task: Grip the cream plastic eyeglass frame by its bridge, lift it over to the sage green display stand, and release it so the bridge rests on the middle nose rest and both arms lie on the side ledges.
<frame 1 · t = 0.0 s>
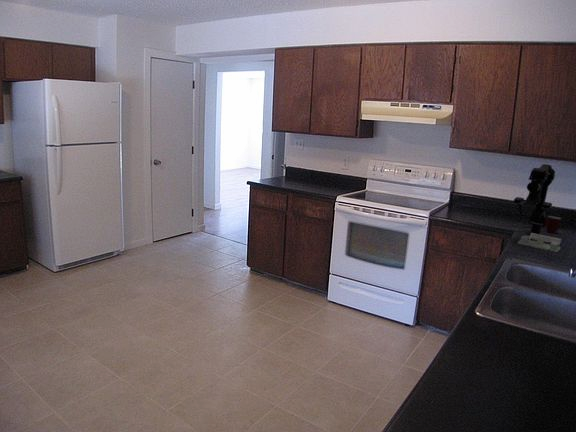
hand: (529, 217, 264), 15 cm above the countertop, tool pointing down, fingers open, 9 cm apart
mug: (550, 232, 300), on the countertop
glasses: (544, 241, 275), on the countertop
stand: (539, 245, 263), on the countertop
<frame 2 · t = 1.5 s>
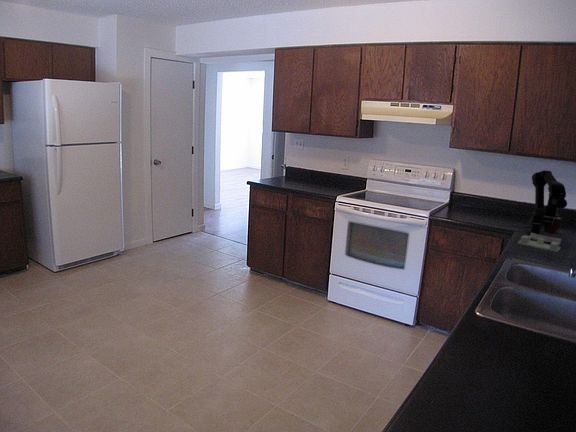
hand: (546, 230, 274), 6 cm above the countertop, tool pointing down, fingers open, 9 cm apart
nothing on the countertop moved.
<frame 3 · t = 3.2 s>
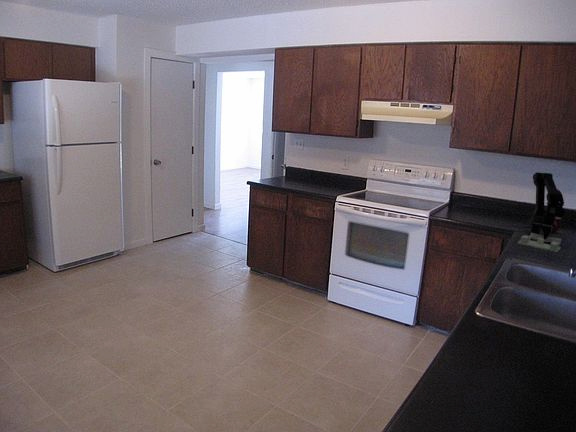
hand: (545, 239, 275), 1 cm above the countertop, tool pointing down, fingers closed on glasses, 2 cm apart
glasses: (544, 241, 275), on the countertop, touching gripper
everything else where it was.
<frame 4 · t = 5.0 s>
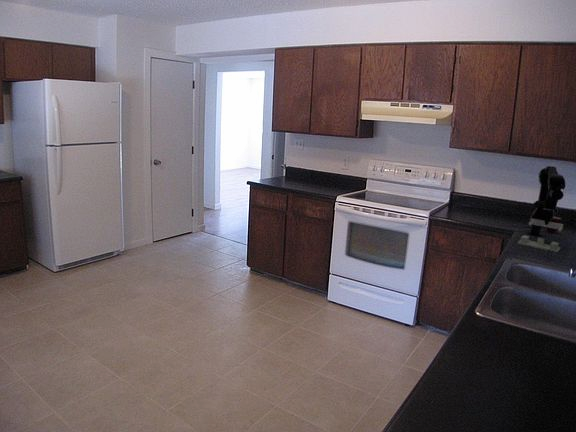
hand: (546, 224, 265), 12 cm above the countertop, tool pointing down, fingers closed on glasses, 2 cm apart
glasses: (546, 226, 265), point 10 cm above the countertop, touching gripper
everything else where it was.
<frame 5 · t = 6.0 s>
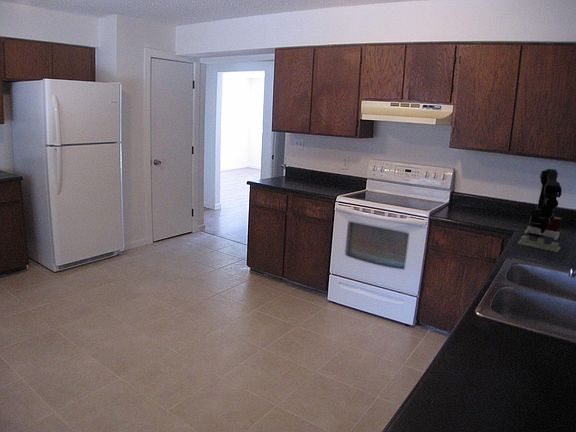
hand: (542, 232, 262), 8 cm above the countertop, tool pointing down, fingers closed on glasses, 2 cm apart
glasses: (542, 234, 262), point 6 cm above the countertop, touching gripper
everything else where it was.
when the fingers open (7 cm above the countertop, at t = 6.7 s): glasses drops 2 cm, resting on stand.
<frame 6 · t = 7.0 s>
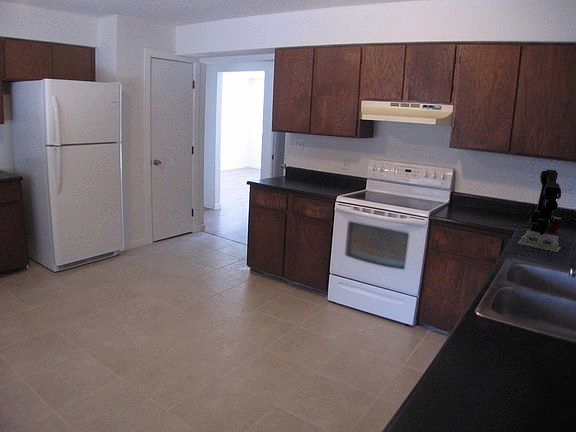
hand: (542, 234, 262), 7 cm above the countertop, tool pointing down, fingers open, 5 cm apart
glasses: (541, 238, 263), point 4 cm above the countertop, touching stand
everything else where it was.
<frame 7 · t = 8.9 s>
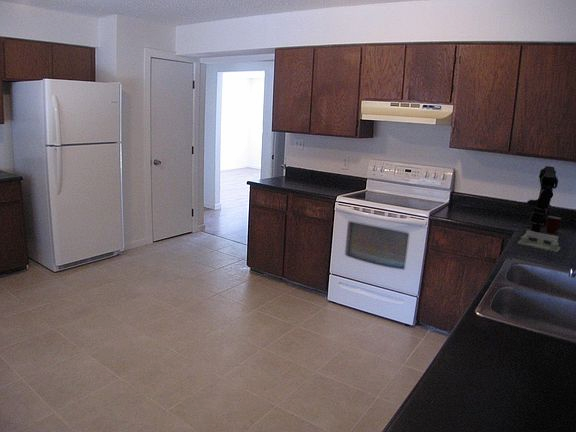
hand: (539, 222, 269), 11 cm above the countertop, tool pointing down, fingers open, 9 cm apart
nothing on the countertop moved.
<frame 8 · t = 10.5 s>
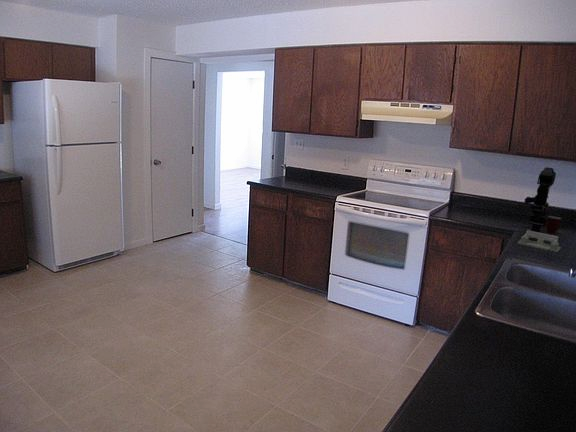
hand: (536, 219, 273), 12 cm above the countertop, tool pointing down, fingers open, 9 cm apart
nothing on the countertop moved.
at the end: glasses 0.1 cm off-centre on the stand, point 4.0 cm above the stand's base; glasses tilted 0°; the gripper is holding nothing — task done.
